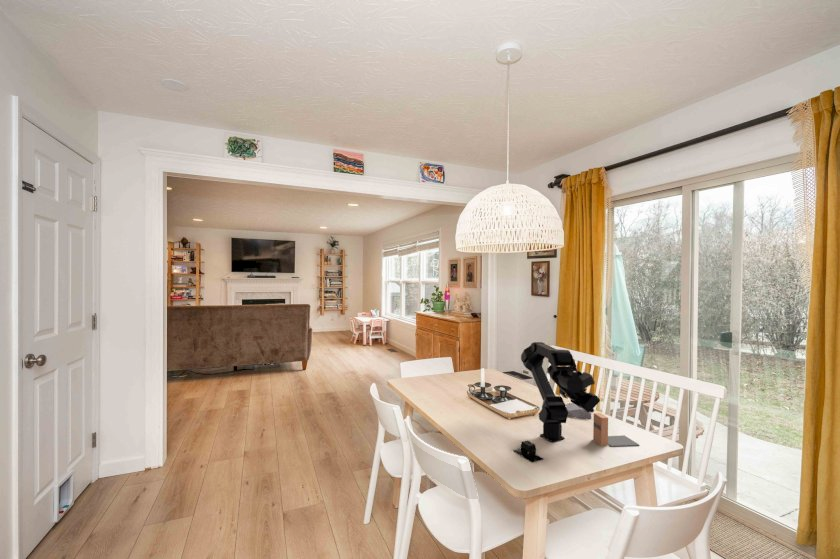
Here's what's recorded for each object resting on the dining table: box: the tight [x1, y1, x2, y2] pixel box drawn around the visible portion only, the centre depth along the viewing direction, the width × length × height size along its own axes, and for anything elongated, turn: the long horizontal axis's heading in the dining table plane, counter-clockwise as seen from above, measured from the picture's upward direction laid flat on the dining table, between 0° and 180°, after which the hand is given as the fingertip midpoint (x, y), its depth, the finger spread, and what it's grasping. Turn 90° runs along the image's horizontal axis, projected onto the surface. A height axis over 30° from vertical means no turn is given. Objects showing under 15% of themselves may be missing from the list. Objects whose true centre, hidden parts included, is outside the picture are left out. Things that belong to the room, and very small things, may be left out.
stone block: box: [565, 402, 592, 420], centre depth 168 cm, size 12×5×10 cm
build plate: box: [512, 439, 544, 463], centre depth 127 cm, size 12×7×5 cm, turn 27°
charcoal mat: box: [607, 434, 640, 448], centre depth 139 cm, size 11×8×1 cm
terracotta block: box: [592, 412, 609, 446], centre depth 138 cm, size 3×5×10 cm, turn 7°
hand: (592, 411), depth 138 cm, fingers closed
